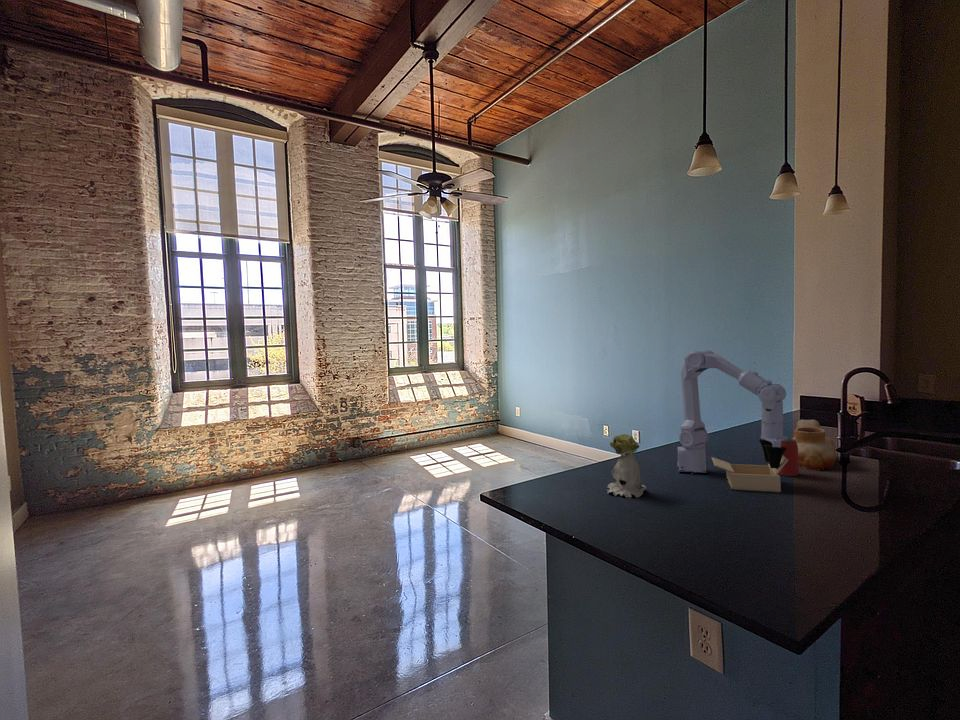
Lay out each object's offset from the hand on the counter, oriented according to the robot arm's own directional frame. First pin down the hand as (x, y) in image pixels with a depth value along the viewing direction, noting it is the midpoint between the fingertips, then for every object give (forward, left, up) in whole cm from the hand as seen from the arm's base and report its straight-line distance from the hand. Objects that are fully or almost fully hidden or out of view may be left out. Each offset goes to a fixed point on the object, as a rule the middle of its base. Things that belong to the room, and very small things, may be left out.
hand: (771, 465), depth 146 cm
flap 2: (+1, 0, +1) cm, 2 cm away
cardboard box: (-6, 0, -7) cm, 9 cm away
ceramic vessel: (+19, +36, -7) cm, 42 cm away
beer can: (+7, +16, -7) cm, 19 cm away
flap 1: (-14, 0, 0) cm, 14 cm away
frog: (-44, -16, -7) cm, 47 cm away
